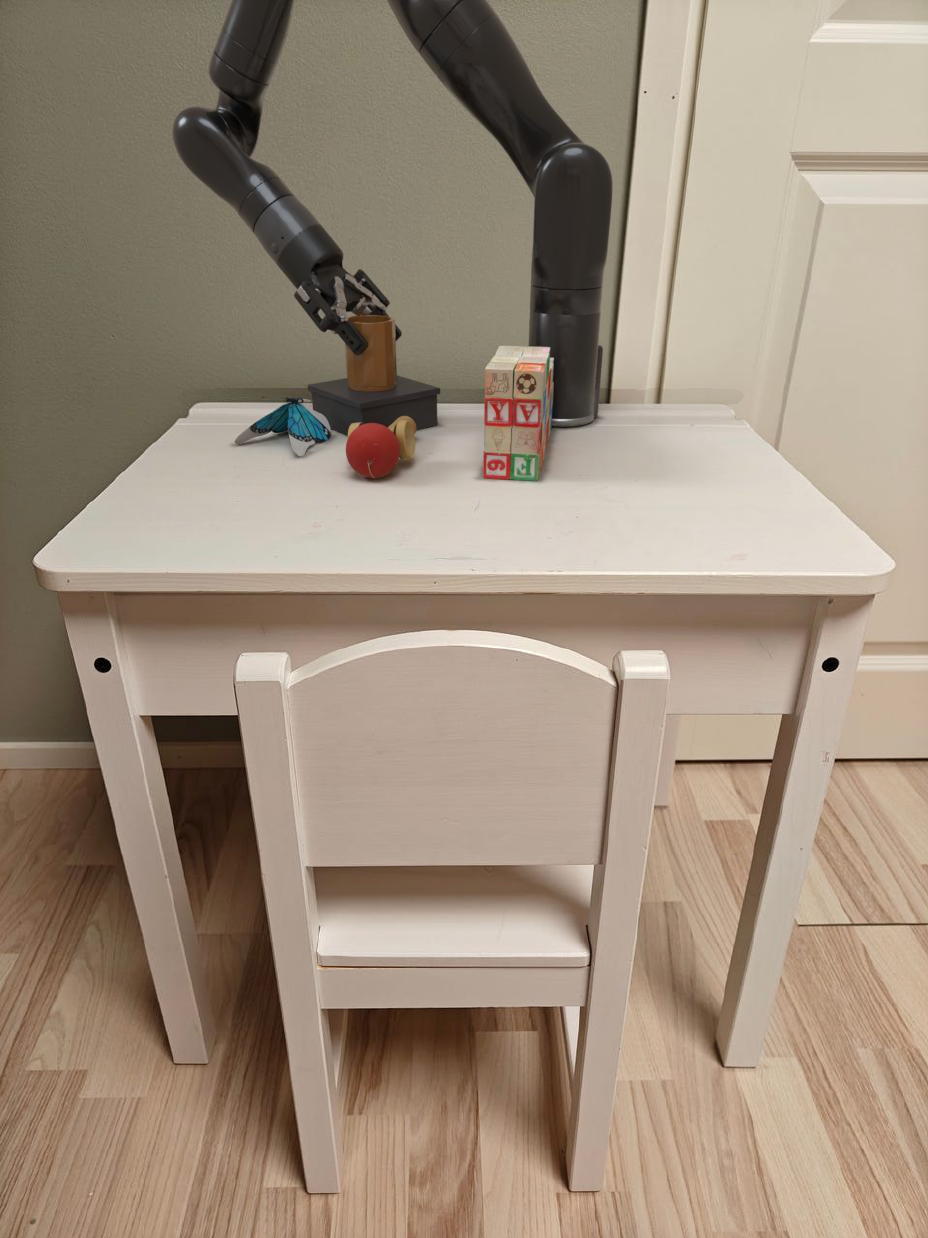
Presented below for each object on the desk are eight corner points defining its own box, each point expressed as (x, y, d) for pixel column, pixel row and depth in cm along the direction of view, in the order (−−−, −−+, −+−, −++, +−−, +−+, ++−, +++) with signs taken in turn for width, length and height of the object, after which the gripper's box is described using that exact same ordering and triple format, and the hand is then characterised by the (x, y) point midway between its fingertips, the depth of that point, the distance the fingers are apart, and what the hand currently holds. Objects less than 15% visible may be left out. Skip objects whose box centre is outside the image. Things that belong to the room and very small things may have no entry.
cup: (378, 378, 118) (375, 313, 114) (406, 387, 113) (404, 319, 109) (338, 385, 114) (334, 318, 110) (366, 394, 110) (362, 325, 106)
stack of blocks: (505, 426, 115) (507, 330, 109) (552, 428, 114) (557, 332, 108) (482, 478, 96) (484, 366, 91) (538, 481, 96) (543, 368, 90)
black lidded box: (386, 406, 124) (385, 371, 122) (440, 425, 115) (440, 387, 113) (310, 421, 117) (307, 384, 114) (362, 442, 108) (360, 403, 106)
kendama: (369, 447, 111) (326, 472, 94) (378, 398, 108) (334, 415, 92) (427, 461, 110) (394, 489, 93) (437, 412, 108) (404, 432, 91)
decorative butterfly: (350, 404, 109) (300, 400, 101) (345, 455, 111) (296, 456, 102) (288, 394, 114) (234, 390, 105) (284, 443, 115) (232, 443, 107)
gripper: (280, 225, 102) (369, 334, 103) (345, 218, 113) (424, 316, 114) (249, 271, 106) (334, 375, 107) (314, 260, 117) (390, 354, 119)
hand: (380, 344), depth 111 cm, fingers open, 8 cm apart
